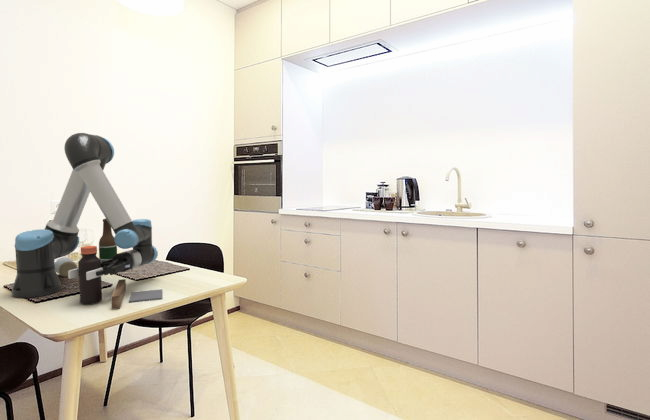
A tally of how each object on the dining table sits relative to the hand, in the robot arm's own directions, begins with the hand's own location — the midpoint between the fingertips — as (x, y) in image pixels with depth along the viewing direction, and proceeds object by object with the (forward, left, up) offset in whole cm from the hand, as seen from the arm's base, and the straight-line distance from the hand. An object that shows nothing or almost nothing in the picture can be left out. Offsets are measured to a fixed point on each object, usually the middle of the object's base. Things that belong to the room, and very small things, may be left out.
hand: (78, 275), depth 130 cm
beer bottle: (+2, +58, -11) cm, 59 cm away
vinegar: (+3, +4, -11) cm, 12 cm away
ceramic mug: (-12, +49, -11) cm, 52 cm away
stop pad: (+21, +4, -11) cm, 24 cm away
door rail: (+12, +4, -11) cm, 17 cm away
